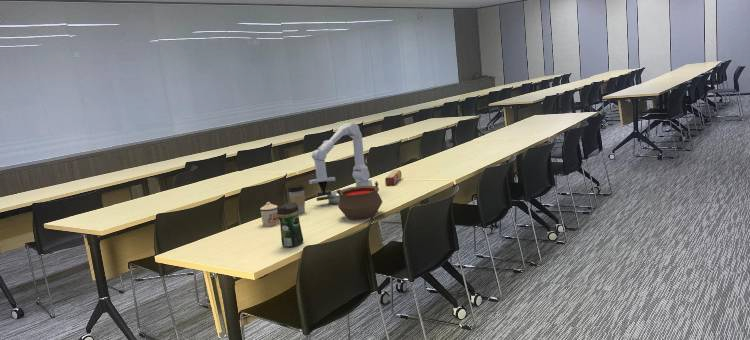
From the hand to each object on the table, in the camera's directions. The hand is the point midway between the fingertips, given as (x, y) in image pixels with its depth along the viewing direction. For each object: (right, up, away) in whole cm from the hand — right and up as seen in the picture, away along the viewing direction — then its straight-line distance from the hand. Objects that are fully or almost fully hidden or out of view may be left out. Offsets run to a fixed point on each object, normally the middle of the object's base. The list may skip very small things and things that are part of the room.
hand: (324, 194), depth 323 cm
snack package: (+41, +5, +45) cm, 61 cm away
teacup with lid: (-24, -14, -26) cm, 38 cm away
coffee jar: (-8, -19, -68) cm, 72 cm away
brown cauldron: (+22, -10, -32) cm, 40 cm away
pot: (+6, -5, +6) cm, 10 cm away
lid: (+5, 0, +5) cm, 7 cm away
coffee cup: (-13, -10, -10) cm, 19 cm away
